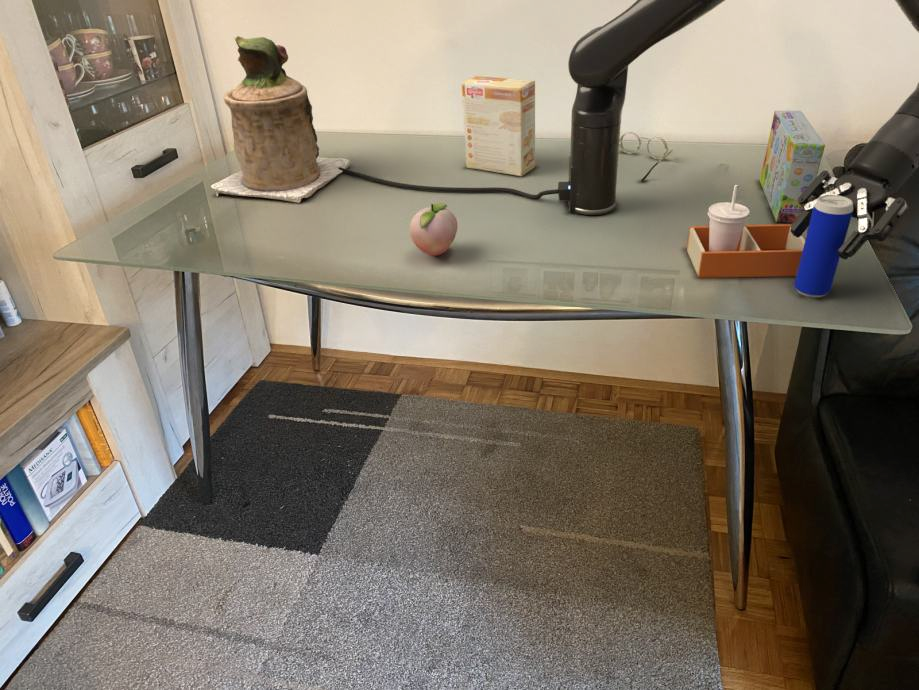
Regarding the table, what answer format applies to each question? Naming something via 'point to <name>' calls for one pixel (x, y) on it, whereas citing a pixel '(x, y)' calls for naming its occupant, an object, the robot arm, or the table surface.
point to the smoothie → (726, 224)
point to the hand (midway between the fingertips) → (816, 245)
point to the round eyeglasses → (648, 150)
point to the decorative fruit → (433, 229)
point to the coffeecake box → (499, 124)
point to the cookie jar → (273, 130)
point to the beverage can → (823, 245)
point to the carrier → (748, 253)
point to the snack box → (790, 163)
